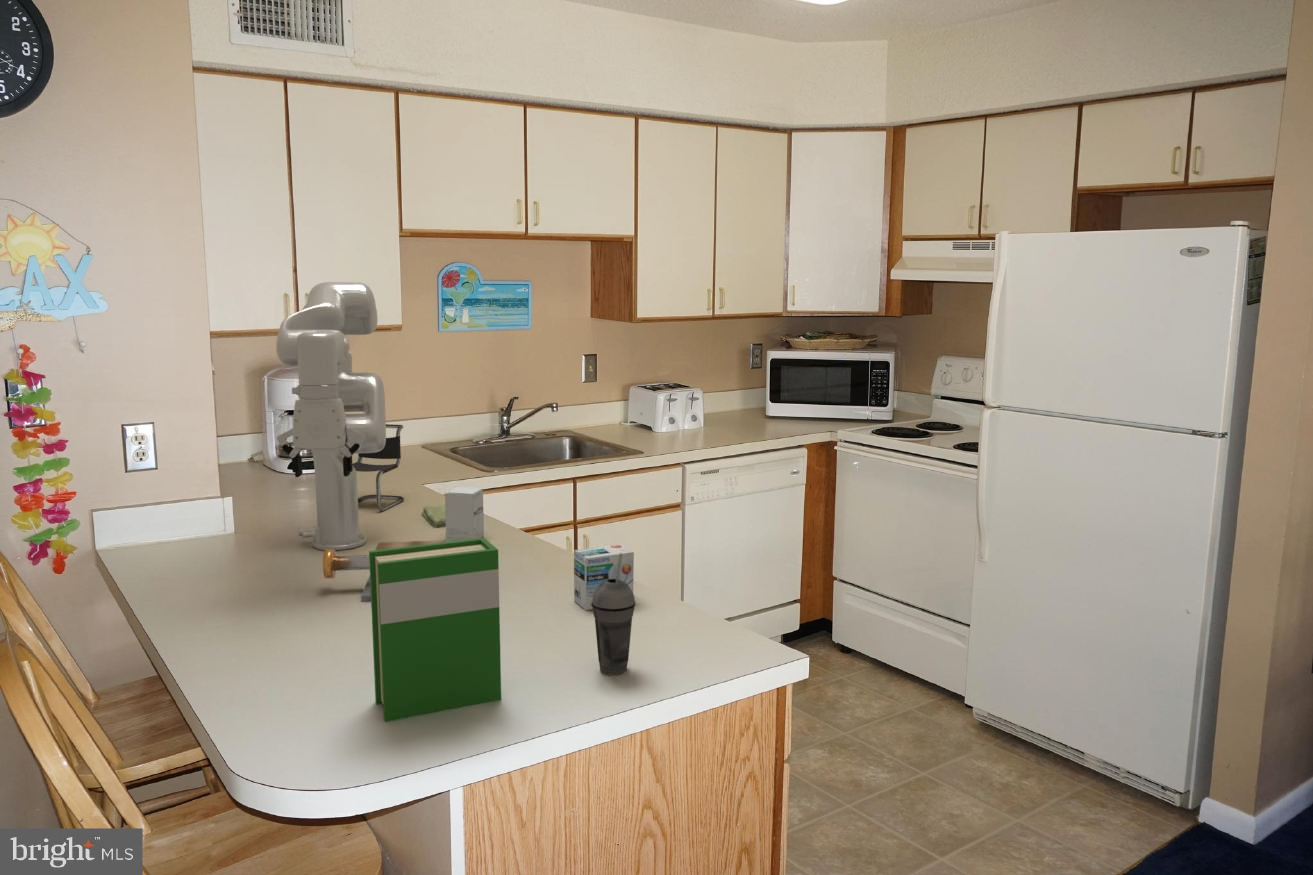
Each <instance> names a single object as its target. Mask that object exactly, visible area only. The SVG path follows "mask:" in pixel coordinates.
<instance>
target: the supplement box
mask: <svg viewBox="0 0 1313 875" xmlns="http://www.w3.org/2000/svg"><path fill="white" fill-rule="evenodd" d="M444 505H445V517H446V526H445V540H446V542H452V541H461V540H469V539H478V538H484V536H485V535H484V534H485V531H484V529H485V527H484V526H485V524H484V488H483V487H473V486H472V487H471V486H455V487H454V488H452V489H450V490H448V491H446V492H445V493H444Z"/></svg>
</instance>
